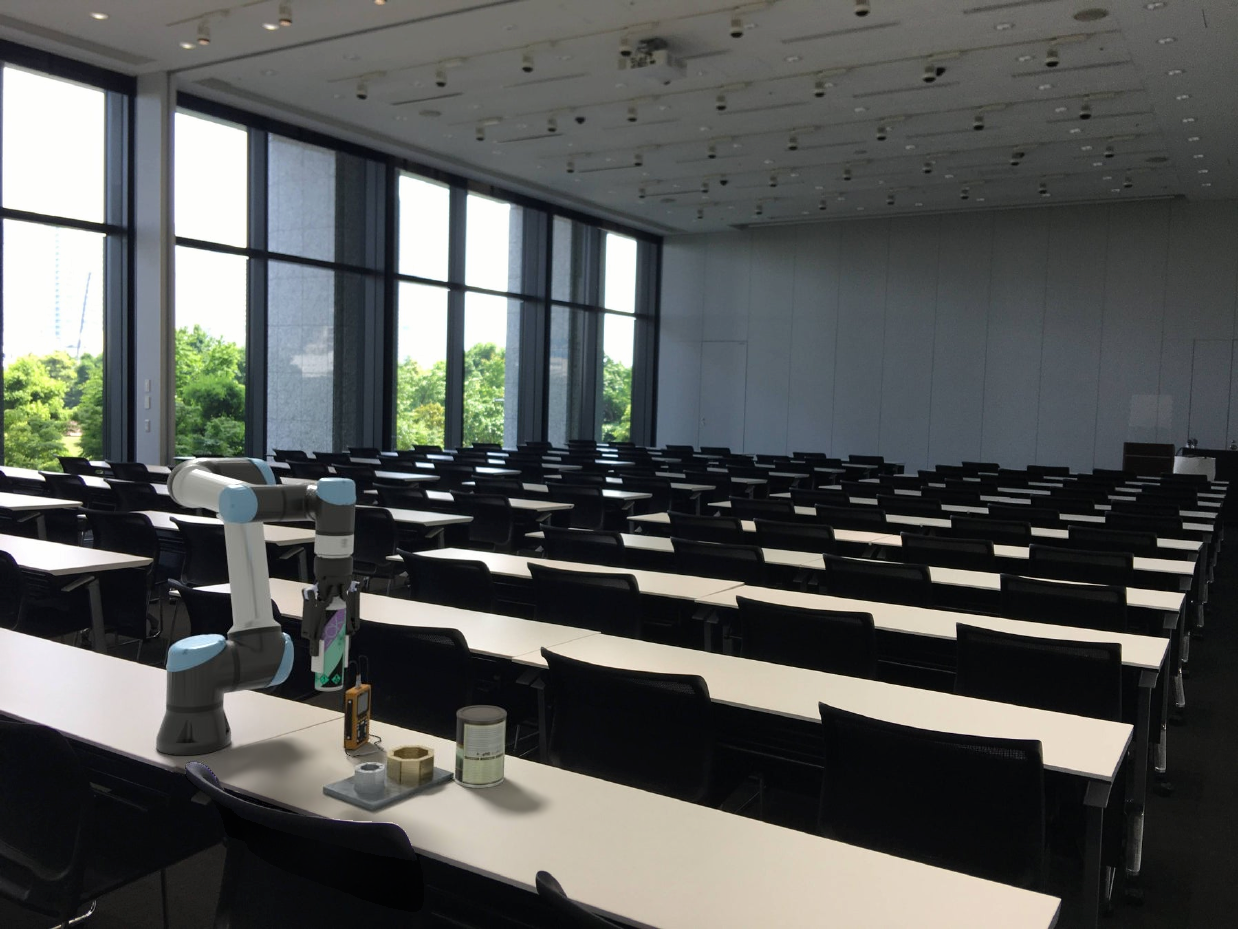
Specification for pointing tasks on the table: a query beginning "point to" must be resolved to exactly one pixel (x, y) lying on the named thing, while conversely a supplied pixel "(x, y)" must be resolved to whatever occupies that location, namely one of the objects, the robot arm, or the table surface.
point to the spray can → (333, 647)
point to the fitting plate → (390, 778)
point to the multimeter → (357, 714)
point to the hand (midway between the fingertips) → (329, 668)
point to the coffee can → (480, 746)
